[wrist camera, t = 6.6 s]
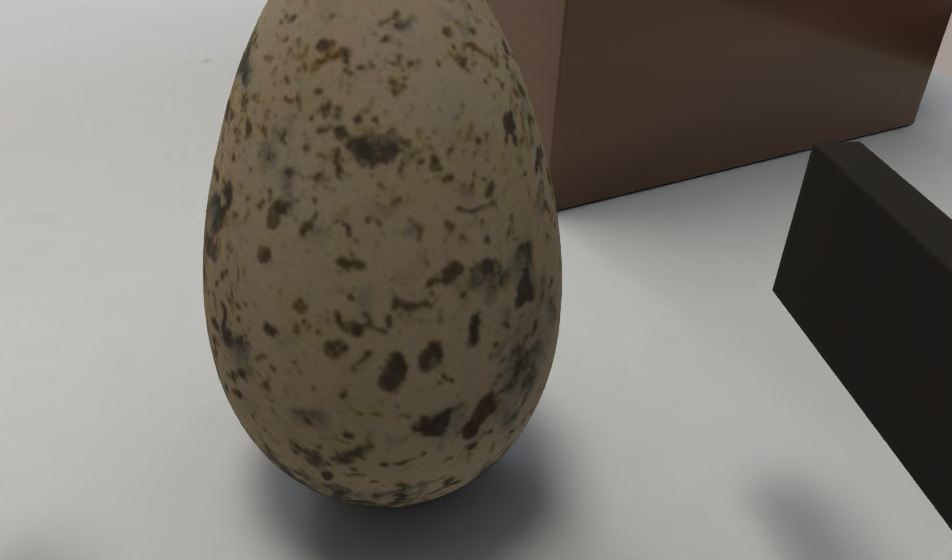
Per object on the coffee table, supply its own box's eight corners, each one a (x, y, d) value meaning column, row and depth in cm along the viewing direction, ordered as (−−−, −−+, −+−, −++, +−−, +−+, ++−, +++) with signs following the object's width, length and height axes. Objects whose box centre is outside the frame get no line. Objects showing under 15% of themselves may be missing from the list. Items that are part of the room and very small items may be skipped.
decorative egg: (589, 425, 18) (667, -83, 13) (440, 650, 14) (460, 24, 8) (355, 332, 20) (333, -133, 15) (165, 499, 16) (32, -70, 10)
